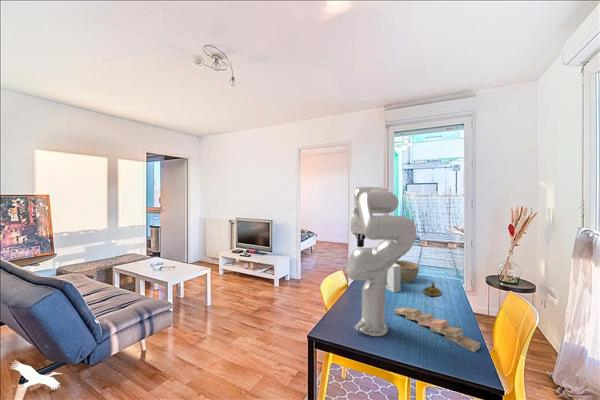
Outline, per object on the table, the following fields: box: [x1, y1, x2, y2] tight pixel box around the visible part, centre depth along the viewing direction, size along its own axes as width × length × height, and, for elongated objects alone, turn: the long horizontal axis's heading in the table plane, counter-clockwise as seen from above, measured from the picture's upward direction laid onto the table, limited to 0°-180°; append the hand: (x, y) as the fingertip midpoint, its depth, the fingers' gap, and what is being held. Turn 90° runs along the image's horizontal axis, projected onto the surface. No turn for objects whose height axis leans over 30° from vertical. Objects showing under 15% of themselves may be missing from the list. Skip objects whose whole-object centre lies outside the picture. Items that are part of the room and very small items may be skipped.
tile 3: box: [429, 325, 464, 337], centre depth 108 cm, size 2×5×11 cm
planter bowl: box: [395, 260, 420, 284], centre depth 170 cm, size 16×16×11 cm
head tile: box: [393, 306, 422, 316], centre depth 124 cm, size 2×5×11 cm
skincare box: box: [385, 263, 402, 293], centre depth 161 cm, size 21×6×16 cm, turn 17°
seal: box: [422, 282, 442, 298], centre depth 152 cm, size 9×5×15 cm
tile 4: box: [444, 334, 481, 352], centre depth 104 cm, size 2×5×11 cm
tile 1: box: [404, 312, 435, 322], centre depth 119 cm, size 2×5×11 cm
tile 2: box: [416, 318, 449, 328], centre depth 114 cm, size 2×5×11 cm
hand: (360, 246), depth 133 cm, fingers closed
